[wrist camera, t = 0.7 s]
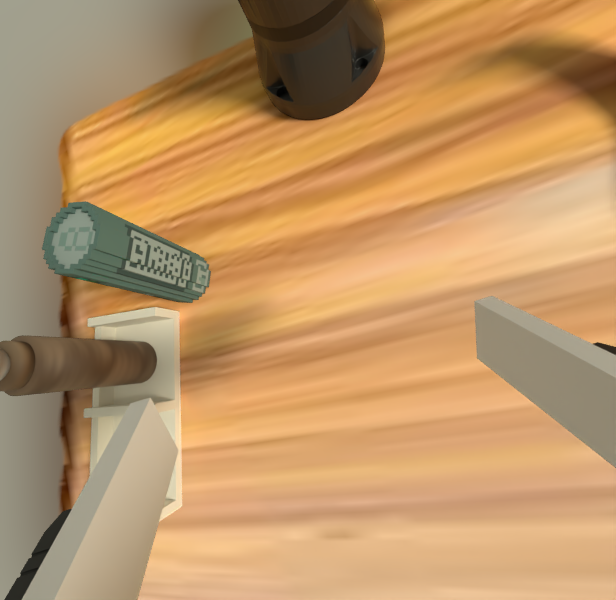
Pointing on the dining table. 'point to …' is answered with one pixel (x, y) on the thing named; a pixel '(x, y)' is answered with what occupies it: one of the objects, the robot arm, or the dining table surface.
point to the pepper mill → (72, 364)
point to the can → (122, 255)
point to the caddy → (142, 385)
